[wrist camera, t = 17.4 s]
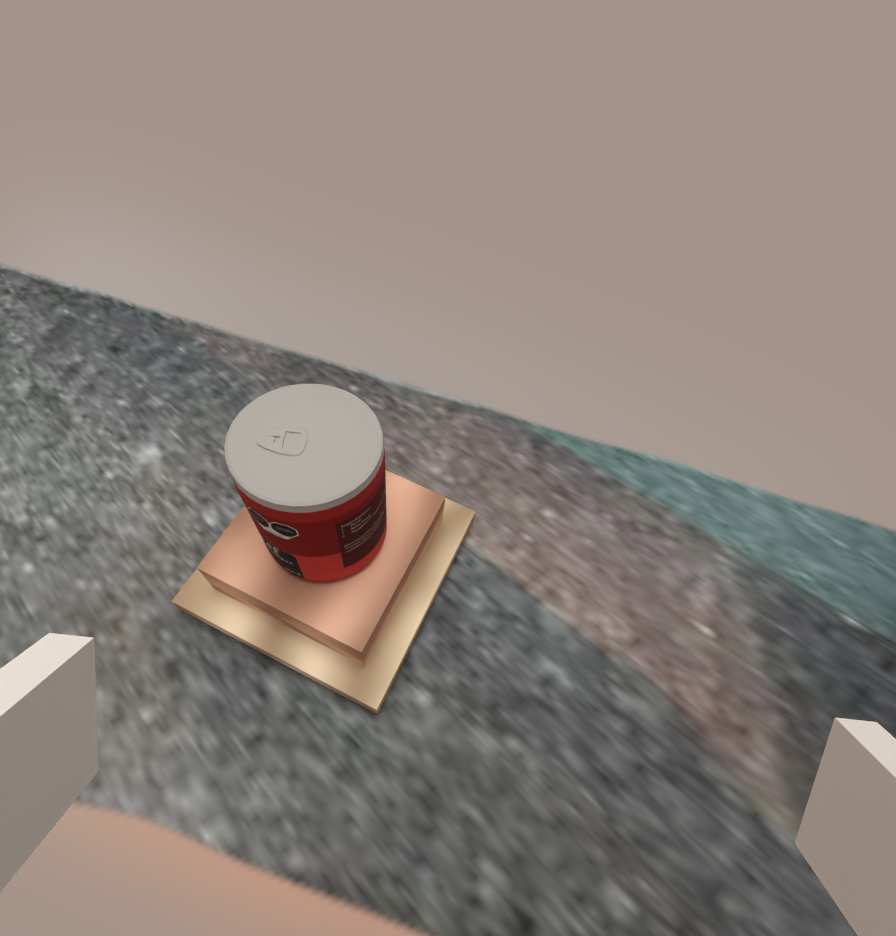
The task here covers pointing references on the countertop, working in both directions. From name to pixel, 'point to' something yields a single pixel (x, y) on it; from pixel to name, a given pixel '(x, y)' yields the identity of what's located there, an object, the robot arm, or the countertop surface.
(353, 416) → the canned food
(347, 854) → the countertop surface
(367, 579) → the stand
